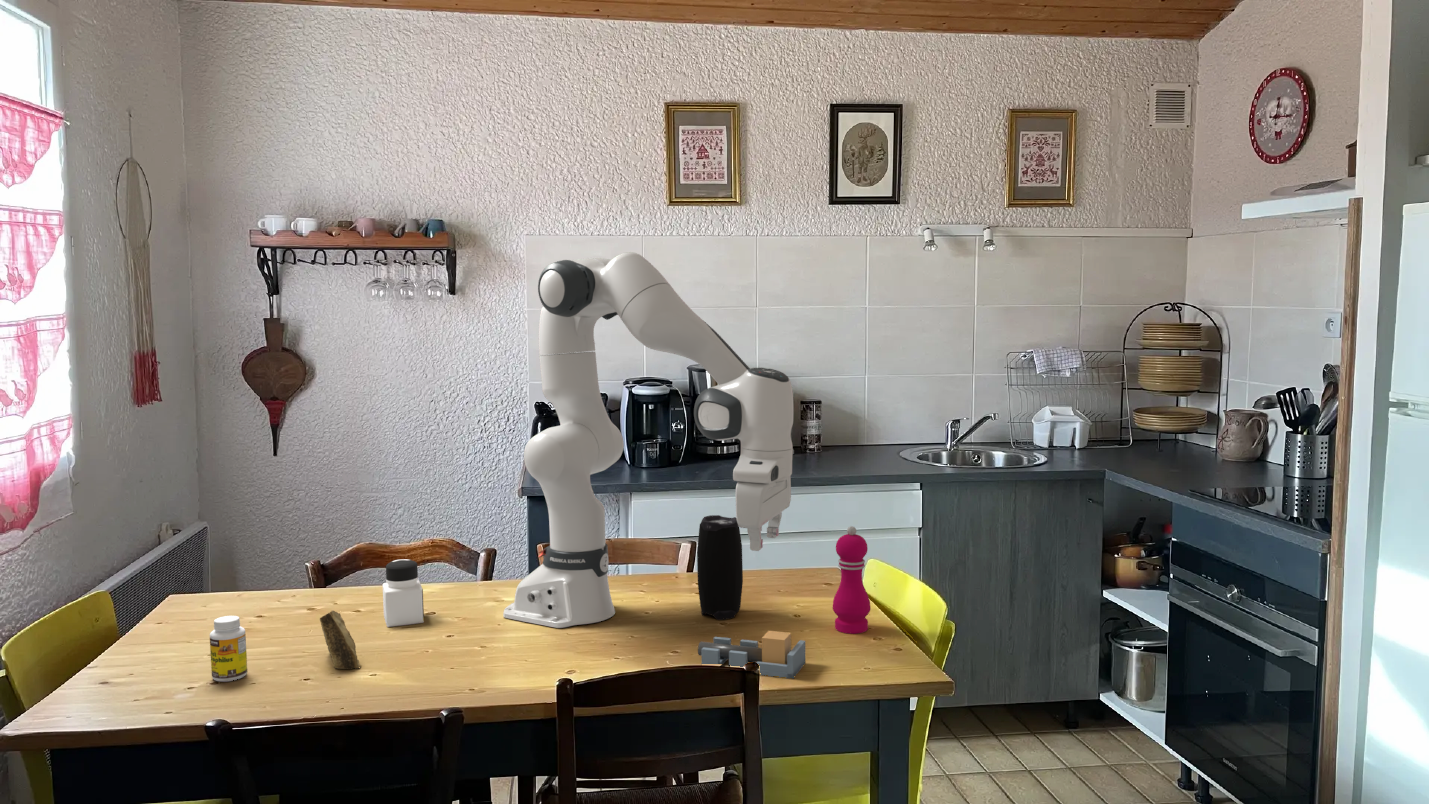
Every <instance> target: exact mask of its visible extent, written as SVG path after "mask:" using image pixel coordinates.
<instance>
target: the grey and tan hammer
mask: <svg viewBox="0 0 1429 804" xmlns="http://www.w3.org/2000/svg"><path fill="white" fill-rule="evenodd" d="M703 647H705V648H714V649H720V658H727V659H728V660H729V652H730V651H731V650H733V651H742V652H747V661H753V662H755V663H756V662H757V661H759V662H768V663H777V664H785V665H787V655H788V654H789V652H790V651H791V650H792V632H786V631H785V632H784V631H776V630H775V631H774V630H767V632H766V633H765V634H764V635H763V636H762V637H761V647H758V648H756V647H747V646H740V645H737V644H731V645H729V644H719V643H713V642H709V641H708V642H707V641H700V642H699V643H698V647H697V653H698V656H700V657H702V650H701V649H702V648H703Z"/></svg>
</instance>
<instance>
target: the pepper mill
mask: <svg viewBox="0 0 1429 804" xmlns="http://www.w3.org/2000/svg"><path fill="white" fill-rule="evenodd" d="M846 532H847V533H846V534H844V535H842V536H840V537H839V538H838V540H837V541H836V543H835V552H836V554H837V556H838V557H839V559H838V568H840V583H839V585H838V588H837V591H836V593H835V595H834V598H833V600H832V610H833V612H834V614H835V615H836V616H837V617H836V618H835V620H834V628H835V630H836V631H838V632H839V633H842V632H843V633H844V634H851V635H852V634H853V635H854V634H855V635H856V634H857V635H858V634H863V633H865V632H867V631H868V629H869V620H868V618H866V617H867V616H868V615H869V614H870V612H871V609H872V608H871V607H872V606H871V601H870V597H869V595H868V593H867V590H866V588H865V585H864V582H863V575H862V574H863V569H865V567H866V566H865V565H866V564H865V562H866V559H864V557H866V555H867V554H868V543H867V541H866V539H865V538H864V537H863V536H861V535H859V534H856V533H857V529H856V527H855V526H852V525H850V526H848V527H847V529H846Z"/></svg>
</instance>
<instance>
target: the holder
mask: <svg viewBox="0 0 1429 804" xmlns="http://www.w3.org/2000/svg"><path fill="white" fill-rule="evenodd" d="M756 663H757V664H759V666H760V673H761V675H760V676H764V675H765V677H773V676H779V677H778V678H781V677H786V678H785V679H790V678H792V679H791V680H793V679H795V677H796V676H797V675H796V674H799V672H800V671H801V669H802V668H803V667H804V666H803V665H806V640H803V639H800V640H799V641H798V642H797V643H796V644H795V645H794V646H793V648H791V651H790V652H789V654H788V655H787V665H785V664H777V663H768V662H759V661H757V662H755V664H756ZM766 675H768V676H766ZM794 676H795V677H794Z"/></svg>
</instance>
